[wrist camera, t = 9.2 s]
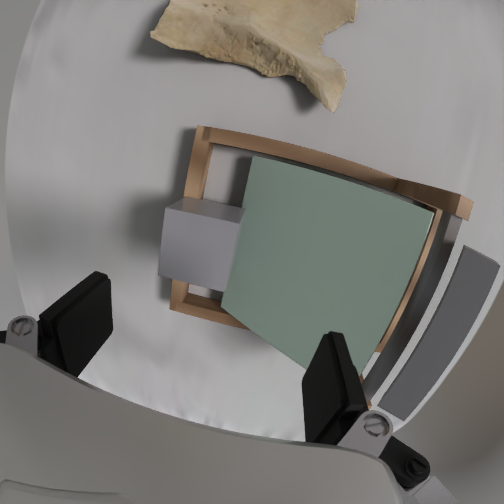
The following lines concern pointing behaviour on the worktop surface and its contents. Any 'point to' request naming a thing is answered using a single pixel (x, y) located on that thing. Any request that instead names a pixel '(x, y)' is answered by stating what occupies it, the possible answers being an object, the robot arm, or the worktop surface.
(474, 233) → the worktop surface
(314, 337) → the trapdoor
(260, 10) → the rock
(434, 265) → the frame
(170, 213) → the block
